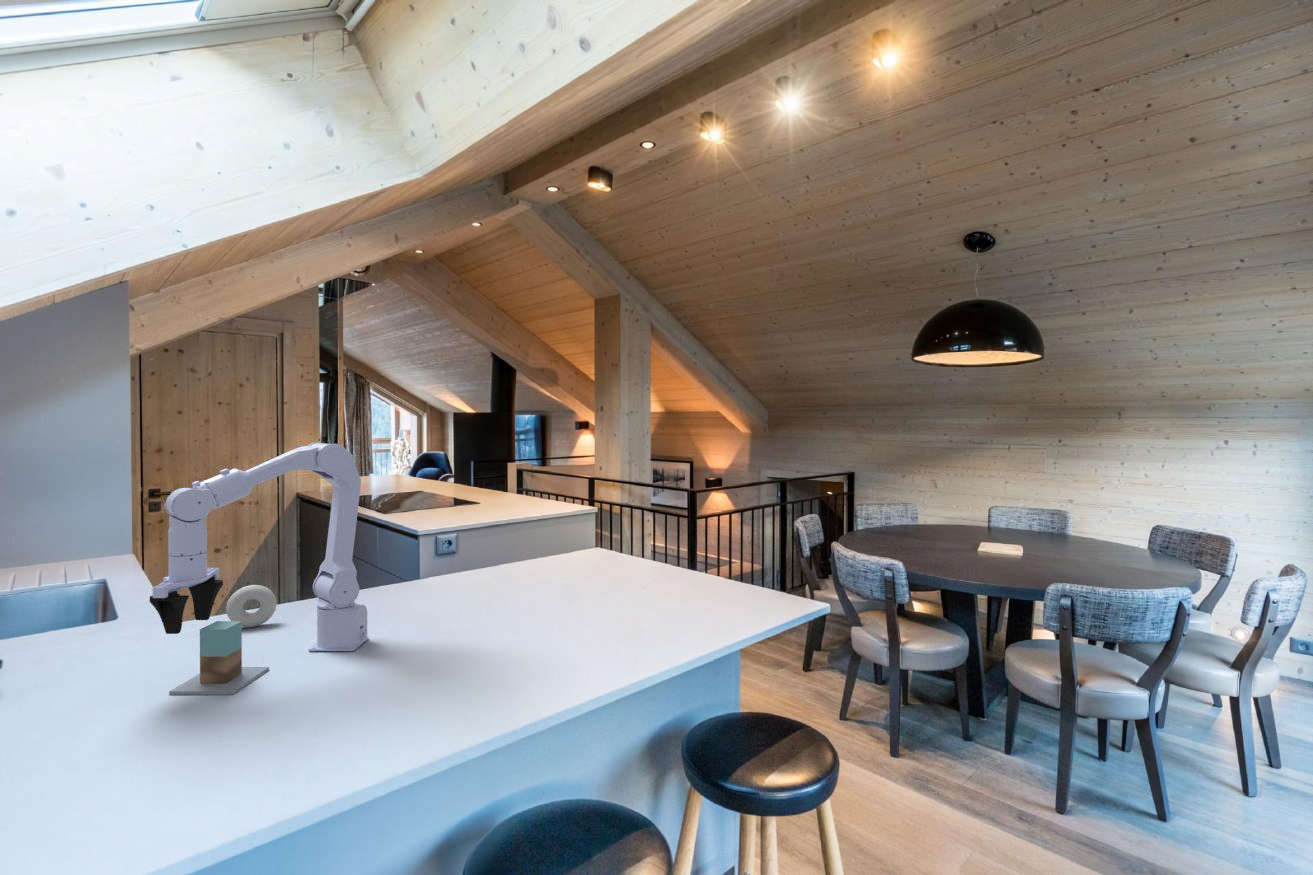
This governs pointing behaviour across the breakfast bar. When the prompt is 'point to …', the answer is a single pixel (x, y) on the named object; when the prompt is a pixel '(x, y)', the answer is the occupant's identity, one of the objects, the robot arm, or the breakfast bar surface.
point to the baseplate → (219, 689)
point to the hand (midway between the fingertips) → (188, 626)
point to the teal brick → (220, 638)
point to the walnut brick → (220, 668)
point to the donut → (248, 593)
